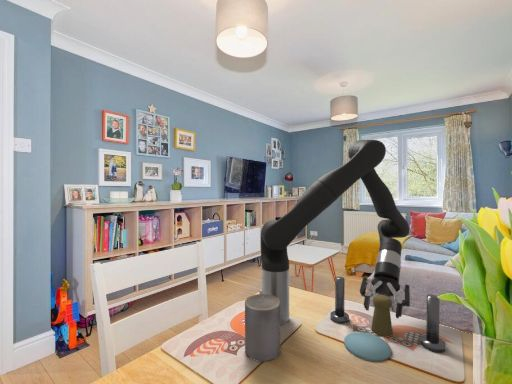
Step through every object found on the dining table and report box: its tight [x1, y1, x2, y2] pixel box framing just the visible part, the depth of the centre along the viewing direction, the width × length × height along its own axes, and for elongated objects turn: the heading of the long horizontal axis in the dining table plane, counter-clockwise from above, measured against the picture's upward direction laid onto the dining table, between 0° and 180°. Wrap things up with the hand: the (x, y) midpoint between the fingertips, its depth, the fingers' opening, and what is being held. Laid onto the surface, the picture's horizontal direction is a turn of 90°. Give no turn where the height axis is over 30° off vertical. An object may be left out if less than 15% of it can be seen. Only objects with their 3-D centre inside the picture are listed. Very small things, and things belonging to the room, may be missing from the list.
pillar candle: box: [244, 294, 281, 363], centre depth 71 cm, size 10×10×15 cm
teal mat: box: [343, 331, 392, 362], centre depth 73 cm, size 12×12×1 cm
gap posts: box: [330, 276, 447, 354], centre depth 81 cm, size 32×6×14 cm, turn 55°
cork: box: [370, 294, 394, 338], centre depth 81 cm, size 6×6×11 cm
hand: (381, 313), depth 80 cm, fingers open, 8 cm apart
